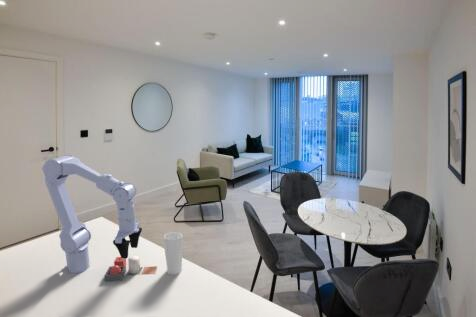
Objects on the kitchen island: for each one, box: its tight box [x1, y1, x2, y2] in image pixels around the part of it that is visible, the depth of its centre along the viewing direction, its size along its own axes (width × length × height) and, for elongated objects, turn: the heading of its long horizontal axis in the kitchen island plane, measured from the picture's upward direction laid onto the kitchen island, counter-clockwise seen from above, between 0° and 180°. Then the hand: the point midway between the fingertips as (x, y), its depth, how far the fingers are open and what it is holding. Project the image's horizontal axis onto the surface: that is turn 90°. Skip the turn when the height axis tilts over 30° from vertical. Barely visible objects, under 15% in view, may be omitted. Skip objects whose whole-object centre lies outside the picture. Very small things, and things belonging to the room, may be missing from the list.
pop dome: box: [110, 265, 121, 274], centre depth 108 cm, size 4×4×3 cm
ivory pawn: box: [127, 255, 141, 274], centre depth 112 cm, size 4×4×5 cm
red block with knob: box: [113, 256, 127, 267], centre depth 115 cm, size 3×3×4 cm
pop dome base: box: [104, 265, 127, 282], centre depth 109 cm, size 6×6×2 cm
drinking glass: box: [163, 231, 184, 276], centre depth 112 cm, size 7×7×15 cm
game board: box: [125, 265, 158, 276], centre depth 112 cm, size 17×12×1 cm
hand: (129, 252), depth 110 cm, fingers open, 7 cm apart
